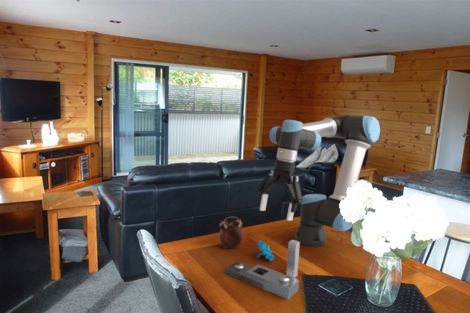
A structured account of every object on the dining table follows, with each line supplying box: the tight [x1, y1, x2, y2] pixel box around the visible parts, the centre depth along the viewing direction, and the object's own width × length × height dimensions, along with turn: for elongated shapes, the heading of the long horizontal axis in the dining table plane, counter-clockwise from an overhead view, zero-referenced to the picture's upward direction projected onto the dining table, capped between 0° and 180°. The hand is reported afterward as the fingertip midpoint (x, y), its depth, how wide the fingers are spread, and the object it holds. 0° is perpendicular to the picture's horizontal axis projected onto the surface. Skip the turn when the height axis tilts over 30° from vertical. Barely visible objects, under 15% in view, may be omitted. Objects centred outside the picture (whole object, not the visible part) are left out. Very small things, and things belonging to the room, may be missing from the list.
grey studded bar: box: [224, 260, 300, 300], centre depth 131 cm, size 8×28×5 cm, turn 53°
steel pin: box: [285, 239, 301, 279], centre depth 135 cm, size 3×3×14 cm
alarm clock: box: [218, 215, 244, 249], centre depth 159 cm, size 11×5×15 cm, turn 105°
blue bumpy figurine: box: [256, 240, 275, 262], centre depth 151 cm, size 11×6×10 cm
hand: (275, 215), depth 133 cm, fingers open, 13 cm apart
